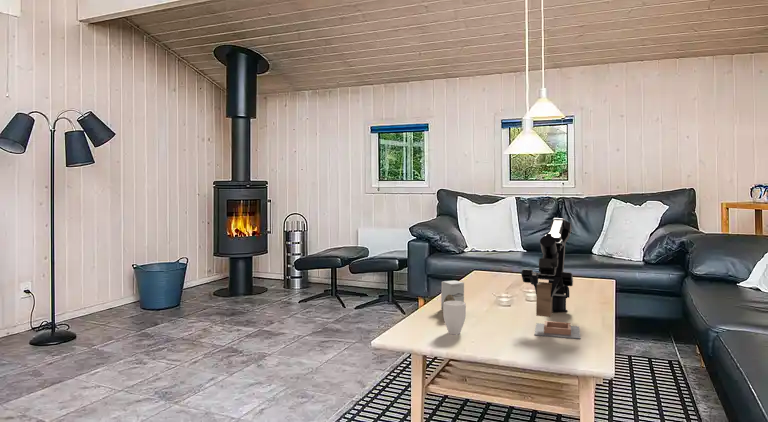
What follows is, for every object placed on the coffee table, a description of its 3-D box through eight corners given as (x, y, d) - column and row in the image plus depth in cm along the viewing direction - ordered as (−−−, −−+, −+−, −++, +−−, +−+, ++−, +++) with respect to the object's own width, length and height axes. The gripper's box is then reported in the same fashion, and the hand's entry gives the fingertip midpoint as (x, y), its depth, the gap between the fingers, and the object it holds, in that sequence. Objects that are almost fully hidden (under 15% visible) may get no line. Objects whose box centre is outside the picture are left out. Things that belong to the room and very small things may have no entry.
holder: (536, 324, 214) (536, 318, 214) (579, 327, 209) (579, 321, 209) (534, 335, 199) (534, 328, 199) (580, 339, 194) (580, 332, 194)
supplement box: (450, 313, 232) (450, 284, 231) (440, 309, 239) (440, 281, 238) (464, 311, 235) (464, 282, 235) (454, 307, 242) (454, 279, 241)
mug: (463, 337, 197) (463, 306, 197) (440, 335, 200) (440, 304, 199) (469, 328, 208) (469, 299, 208) (448, 326, 211) (448, 297, 211)
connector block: (538, 312, 209) (539, 281, 208) (552, 314, 207) (552, 283, 206) (536, 315, 204) (536, 284, 204) (549, 317, 202) (550, 285, 201)
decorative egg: (456, 316, 226) (456, 293, 226) (457, 320, 220) (457, 296, 220) (441, 316, 227) (441, 292, 226) (442, 320, 221) (442, 296, 220)
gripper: (522, 248, 212) (515, 281, 202) (572, 251, 203) (567, 285, 194) (526, 265, 219) (520, 297, 210) (574, 268, 211) (570, 302, 202)
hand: (543, 295), depth 204 cm, fingers closed on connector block, 5 cm apart
